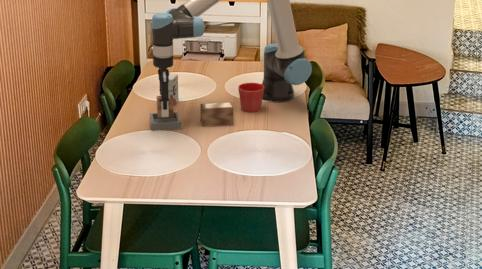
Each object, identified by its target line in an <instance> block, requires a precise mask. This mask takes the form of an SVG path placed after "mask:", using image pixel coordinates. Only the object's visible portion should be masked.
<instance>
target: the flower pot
mask: <svg viewBox="0 0 482 269" xmlns="http://www.w3.org/2000/svg"><path fill="white" fill-rule="evenodd" d="M237 90H238V95H239V101H240V106H241V110H242V111H244V112H245V113H255V112H256V113H257V112H258V111H260V110H261V108H262V104H263V103H262V102H263V100H264V99H263V93H264V86H263V85H262V83H258V82H245V83H241V84H239V85H238V88H237Z"/></svg>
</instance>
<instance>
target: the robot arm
mask: <svg viewBox="0 0 482 269" xmlns="http://www.w3.org/2000/svg"><path fill="white" fill-rule="evenodd" d="M221 1H222V0H186V1H185V2H184V3H183V4H182V3H181V5H179V6H178V7H177V8H173V7H172V8H170V9H168V10H167V11H166V12H158V13H155V14H153V15H152V17H151V38H152V46H151V47H150V49H151V50H152V55H153V56H152V65H153V67H155V68H158V69H157V74H158V80H159V96H161V100H160V102H161V117H169V106H168V101H169V97H168V95H169V93H168V83H169V73H170V71H169V69H168V68H172V67H173V66H174V56H173V55H174V40H178V39H179V40H180V39H190V38H191V39H193V38H199V37H202V36H203V35H204V34H205V22H204V20H203V18H202V17H201V16H202V15H203V14H204V13H206V12H208V10H210V9H211V8H213V7H214V6H215V5H217V4H218V3H219V2H221ZM266 2H267V7H268V11H269V15H270V21H271V24H272V29H273V33H274V37H275V42H274V43H269V44H266V45H265V47H264V48H263V49H264V51H263V79H262V82H261V84H262V85H263V86H264V93H263V99H262V100H264V101H269V102H277V103H278V102H279V103H280V102H288V101H291V100H293V99H294V97H295V90H294V87H293V86H299V85H302V84H304V83H305V82H307V81H308V79H309V77H310V76H311V75H312V70H313V67H312V63H311V62H310V61H309V59H308V58H306V56H305V49H304V47H303V46H302V45H300V44H299V39H298V34H297V31H296V25H295V21H294V15H293V11H292V5H291V0H266Z"/></svg>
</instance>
